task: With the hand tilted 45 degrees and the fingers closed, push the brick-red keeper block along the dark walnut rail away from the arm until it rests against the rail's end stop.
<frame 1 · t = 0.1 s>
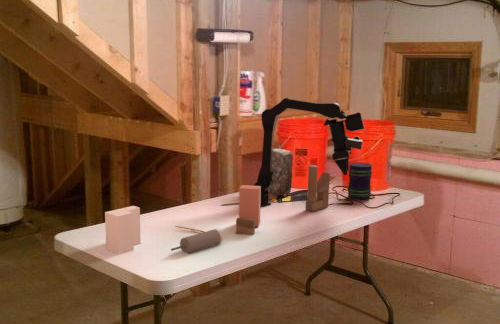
hand: (346, 172, 213), 15 cm above the table, tool pointing down, fingers open, 9 cm apart
rail: (249, 224, 195), on the table
keeper: (249, 205, 194), point 7 cm above the table, slide at 0.0 cm
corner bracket: (122, 246, 171), on the table
motor: (181, 242, 177), on the table
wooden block: (316, 209, 219), on the table
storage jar: (358, 198, 237), on the table
stone block: (278, 194, 243), on the table
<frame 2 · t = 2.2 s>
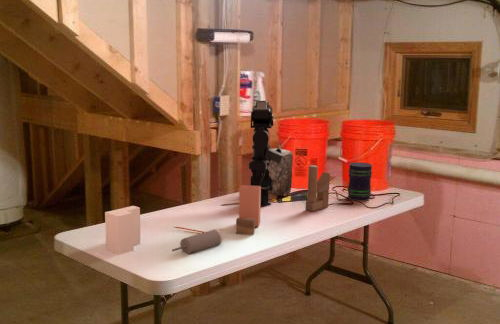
hand: (260, 183, 203), 13 cm above the table, tool pointing down, fingers open, 6 cm apart
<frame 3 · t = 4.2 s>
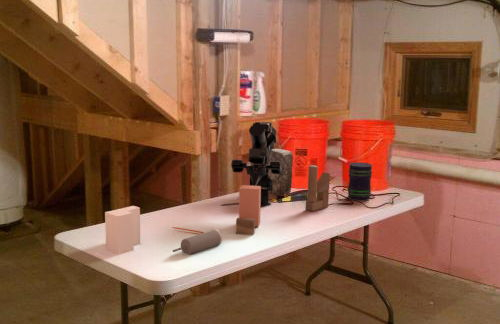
hand: (254, 186, 202), 12 cm above the table, tool tilted 40°, fingers closed
stone block: (278, 194, 243), on the table, touching arm
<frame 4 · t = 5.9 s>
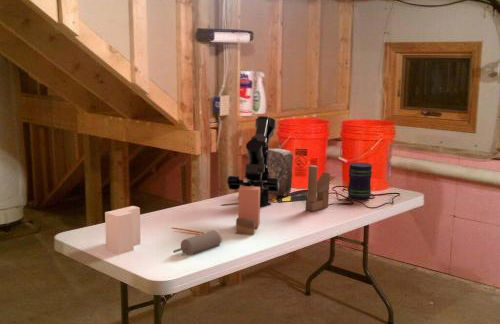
hand: (250, 203, 195), 8 cm above the table, tool tilted 45°, fingers closed, pressing on keeper
keeper: (249, 206, 193), point 7 cm above the table, slide at 1.4 cm, touching gripper
stone block: (278, 194, 243), on the table
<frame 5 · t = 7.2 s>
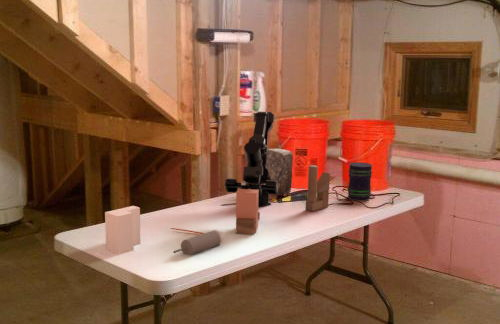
hand: (248, 206, 191), 8 cm above the table, tool tilted 45°, fingers closed, pressing on keeper
keeper: (247, 210, 188), point 7 cm above the table, slide at 6.0 cm, touching gripper
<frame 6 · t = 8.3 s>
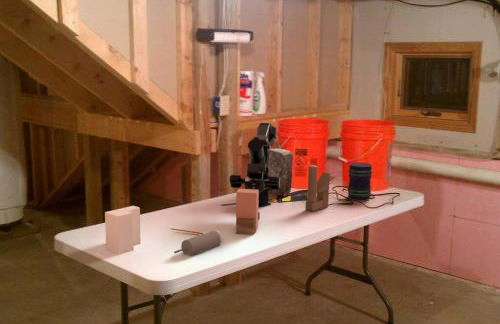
hand: (252, 201, 200), 7 cm above the table, tool tilted 45°, fingers closed
keeper: (247, 210, 188), point 7 cm above the table, slide at 6.0 cm
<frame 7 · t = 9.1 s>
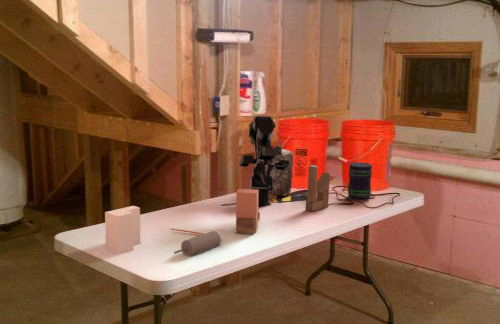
hand: (265, 183, 203), 13 cm above the table, tool tilted 30°, fingers closed
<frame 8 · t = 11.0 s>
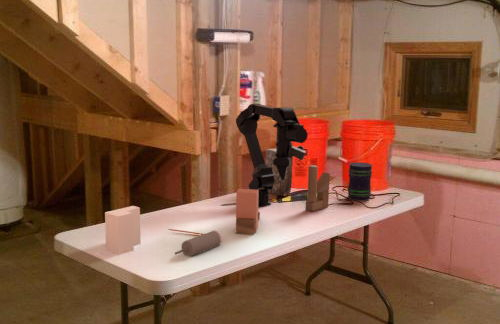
hand: (282, 179, 211), 13 cm above the table, tool pointing down, fingers closed
at the end: keeper slide at 6.0 cm; the gripper is holding nothing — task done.
